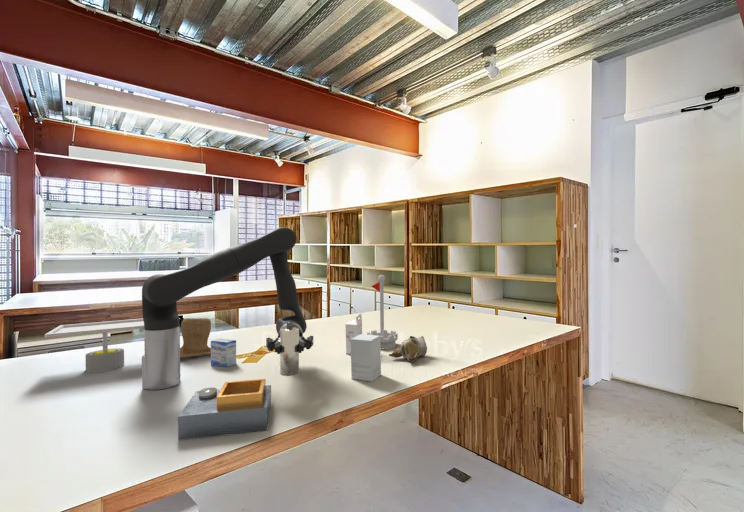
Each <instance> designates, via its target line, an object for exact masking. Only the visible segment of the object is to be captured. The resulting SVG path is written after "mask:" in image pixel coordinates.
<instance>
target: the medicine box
mask: <svg viewBox="0 0 744 512" xmlns="http://www.w3.org/2000/svg"><path fill="white" fill-rule="evenodd" d="M210 348H211V354H210V366H216V367H217V366H218V367H223V368H224V367H225V368H229V367H231V366H234V365H236V364H237V340H236V339H235V340H234V339H229V338H227V339H226V338H215V339H211V341H210Z"/></svg>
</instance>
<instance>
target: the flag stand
mask: <svg viewBox="0 0 744 512" xmlns="http://www.w3.org/2000/svg"><path fill="white" fill-rule="evenodd" d="M377 279H378V282H376V283H375V284H373V285H371V287H372V288H373V289H375V290H376V291H378V292H379V305H380V306H379V320H380V321H379V323H380V324H379V325H380V326H379V327H380V328H379V331H380V332H378V330H376V329H375V330H371V331H368V332H366V335H376V336H380V348H390V349H392V348H391V347H393V348H395V347H396V342H397V341H398V336H399V335H398V332H397V331H395V330H390V332H388V329H385V326H384V325H385V320H384V319H385V317H384V316H385V312H384V311H385V306H384V305H385V304H384V291H385V290H384V281H385V280H386V277H385V275H383V274H380V275H378V277H377ZM394 346H395V347H394Z"/></svg>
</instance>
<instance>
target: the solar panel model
mask: <svg viewBox="0 0 744 512" xmlns="http://www.w3.org/2000/svg"><path fill="white" fill-rule="evenodd" d="M139 329H140V330H141V329H144V321H143V318H133V319H122V320H121V319H120V320H119V319H118V320H109V321H98V322H97V321H96V322H84V323H71V324H60V325H58V326H57V327H55V328H53V329H51V330H50V331H48V332H47V333H45V334H44V338H52V337H63V336H65V337H66V336H76V335H85V334H97V333H98V334H99V333H102V349H100V350H99V349H98V350H94V351H90V352H87V353H86V354H85V372H87V373H99V372H106V371H107V372H108V371H112V370H116V369H119V368H122V367H124V366H125V349H124V348H118V347H117V348H108V347H109V346H108V341H109V340H108V337H109V336H108V332H119V331H129V330H139Z"/></svg>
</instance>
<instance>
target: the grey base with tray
mask: <svg viewBox="0 0 744 512" xmlns="http://www.w3.org/2000/svg"><path fill="white" fill-rule="evenodd" d="M271 408H272V385H271V384H270V385H269V384H268V385H267V384H266V378H260V379H259V378H258V379H257V378H256V379H248V380H246V379H245V380H244V379H243V380H236V381H233V380H232V381H225V382H223V385H222V387H221V389H217V388H216V387H206V388H202V389H199V390H197V391H195V392H194V393H193V395H192V397H191V398H190V399H189V401H188V402H187V404H186V405H185V406H184V407H183V409H182V410H181V411H180V413H179V414H178V416H177V433H178V434H177V437H178V438H177V439H178V441H181V440H190V439H191V440H192V439H200V438H201V439H202V438H207V437H208V438H210V437H218V436H228V435H235V434H236V435H238V434H246V433H257V432H264V431H268V427H269V421H270V415H271Z"/></svg>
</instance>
